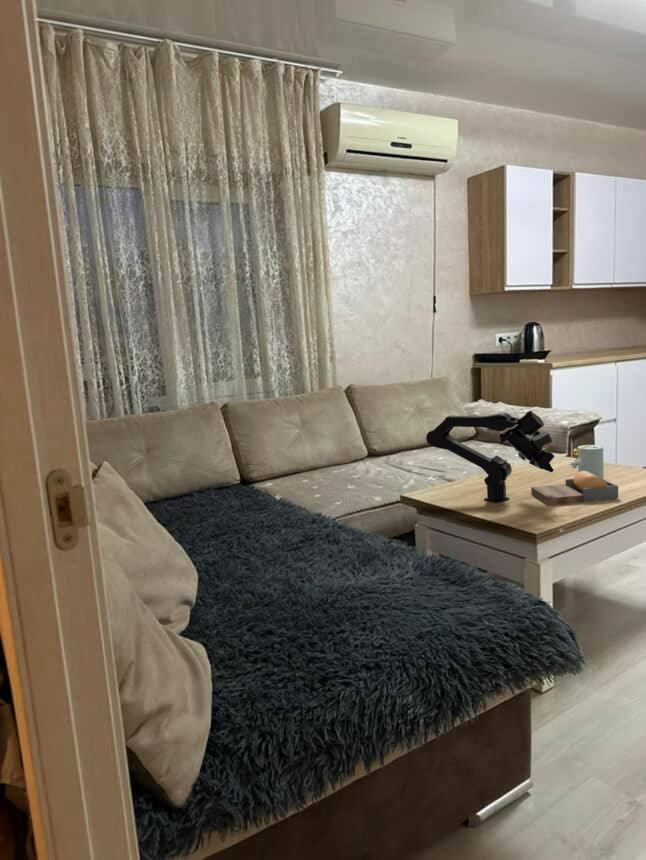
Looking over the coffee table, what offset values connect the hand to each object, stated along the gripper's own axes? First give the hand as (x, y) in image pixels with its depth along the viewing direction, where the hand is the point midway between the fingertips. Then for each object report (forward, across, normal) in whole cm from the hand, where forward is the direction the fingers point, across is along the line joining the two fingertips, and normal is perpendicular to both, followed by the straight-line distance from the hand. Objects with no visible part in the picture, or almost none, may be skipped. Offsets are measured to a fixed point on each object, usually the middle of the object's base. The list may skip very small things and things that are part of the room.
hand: (552, 471), depth 213 cm
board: (+8, 0, +6) cm, 10 cm away
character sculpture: (+22, +19, -9) cm, 30 cm away
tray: (+16, -1, -3) cm, 16 cm away
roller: (+13, -1, -5) cm, 14 cm away
